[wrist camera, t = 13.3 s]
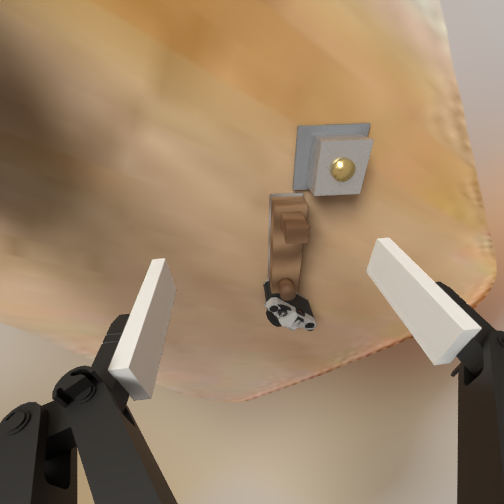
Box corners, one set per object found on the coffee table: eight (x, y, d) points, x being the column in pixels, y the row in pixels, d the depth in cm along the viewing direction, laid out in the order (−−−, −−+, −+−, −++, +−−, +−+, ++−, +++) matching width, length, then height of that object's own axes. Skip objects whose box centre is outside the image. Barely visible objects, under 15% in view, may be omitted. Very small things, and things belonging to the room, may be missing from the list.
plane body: (293, 277, 49) (304, 313, 41) (267, 279, 49) (274, 315, 41) (302, 192, 38) (319, 219, 30) (269, 194, 38) (278, 221, 30)
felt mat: (292, 188, 37) (293, 190, 37) (297, 125, 32) (298, 126, 32) (353, 186, 38) (355, 187, 37) (368, 123, 32) (370, 123, 32)
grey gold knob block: (305, 183, 36) (315, 198, 32) (310, 134, 32) (323, 142, 28) (346, 181, 37) (362, 196, 32) (356, 132, 33) (377, 140, 28)
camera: (246, 296, 52) (251, 333, 45) (268, 275, 48) (277, 310, 41) (289, 313, 57) (299, 348, 50) (311, 295, 54) (325, 329, 47)
